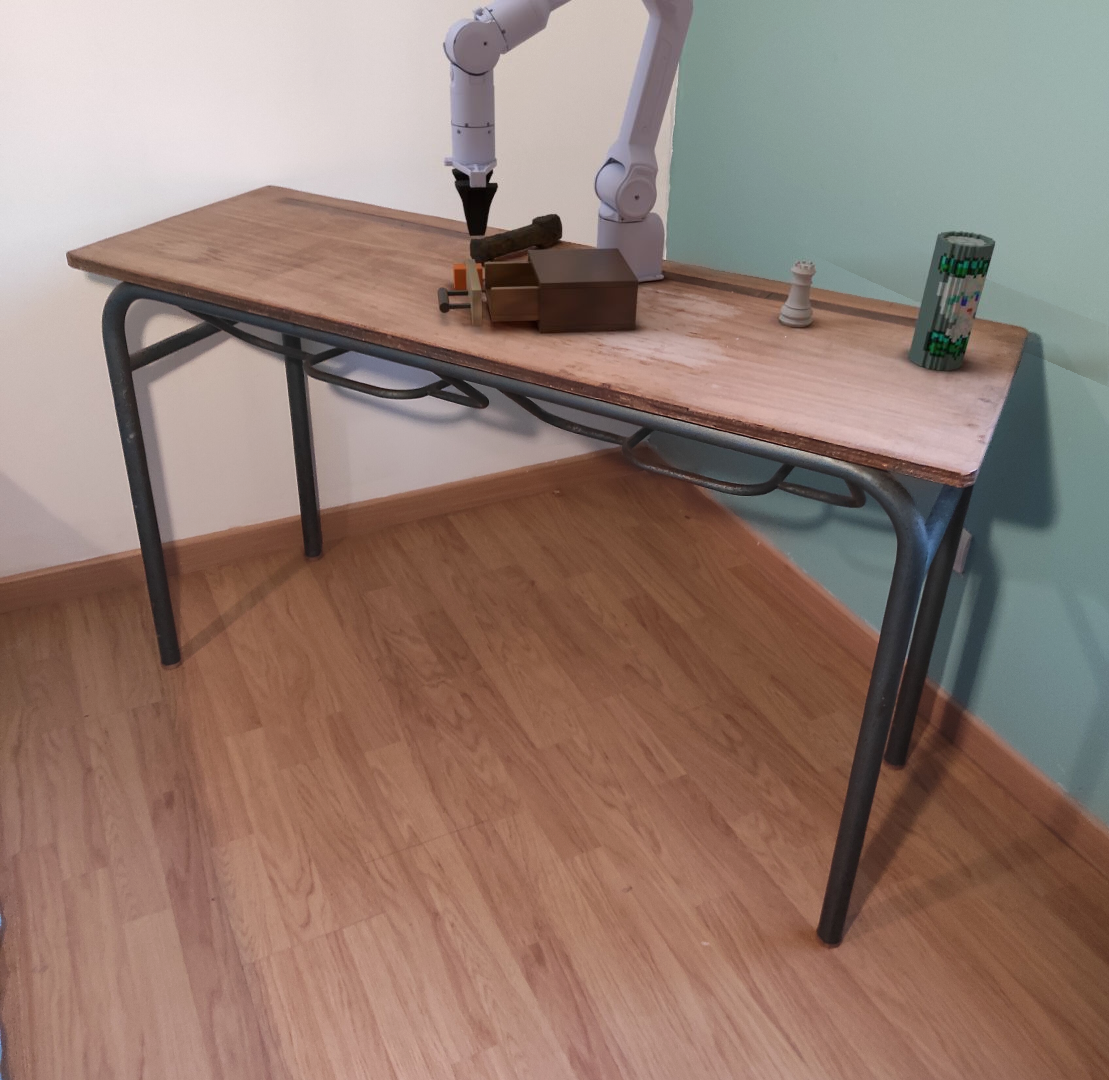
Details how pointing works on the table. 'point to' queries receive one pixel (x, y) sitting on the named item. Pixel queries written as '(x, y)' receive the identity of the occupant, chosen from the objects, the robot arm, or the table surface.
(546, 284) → the cabinet
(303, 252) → the table surface
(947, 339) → the can
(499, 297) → the drawer
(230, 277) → the table surface
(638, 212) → the robot arm
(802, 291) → the rook chess piece
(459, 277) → the block
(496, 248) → the hand tool
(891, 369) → the table surface
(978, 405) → the table surface
